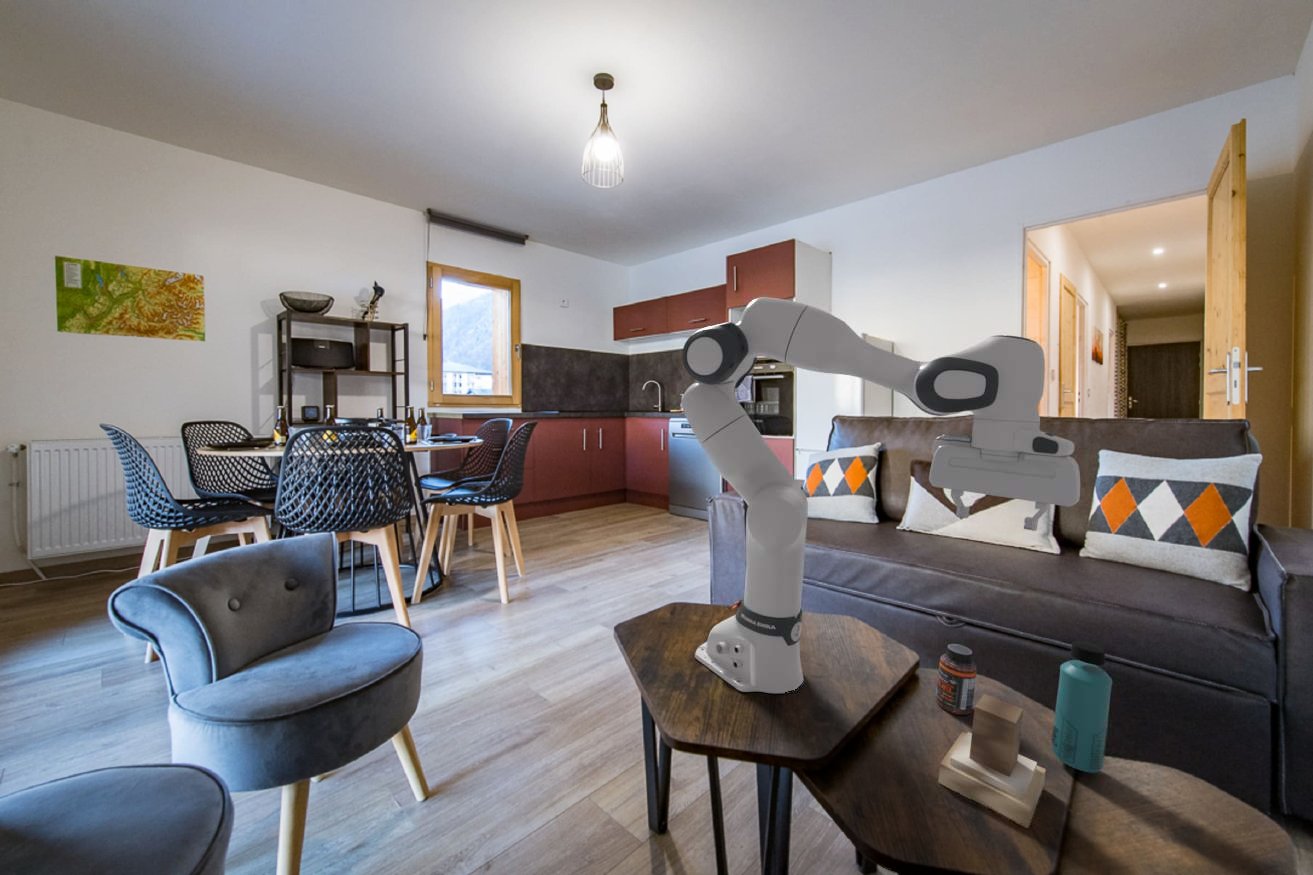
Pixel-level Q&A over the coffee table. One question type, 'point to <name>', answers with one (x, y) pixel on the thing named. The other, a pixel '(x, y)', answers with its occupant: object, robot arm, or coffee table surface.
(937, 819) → the coffee table surface
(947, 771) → the pedestal
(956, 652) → the supplement bottle
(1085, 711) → the beverage bottle
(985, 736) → the walnut block
